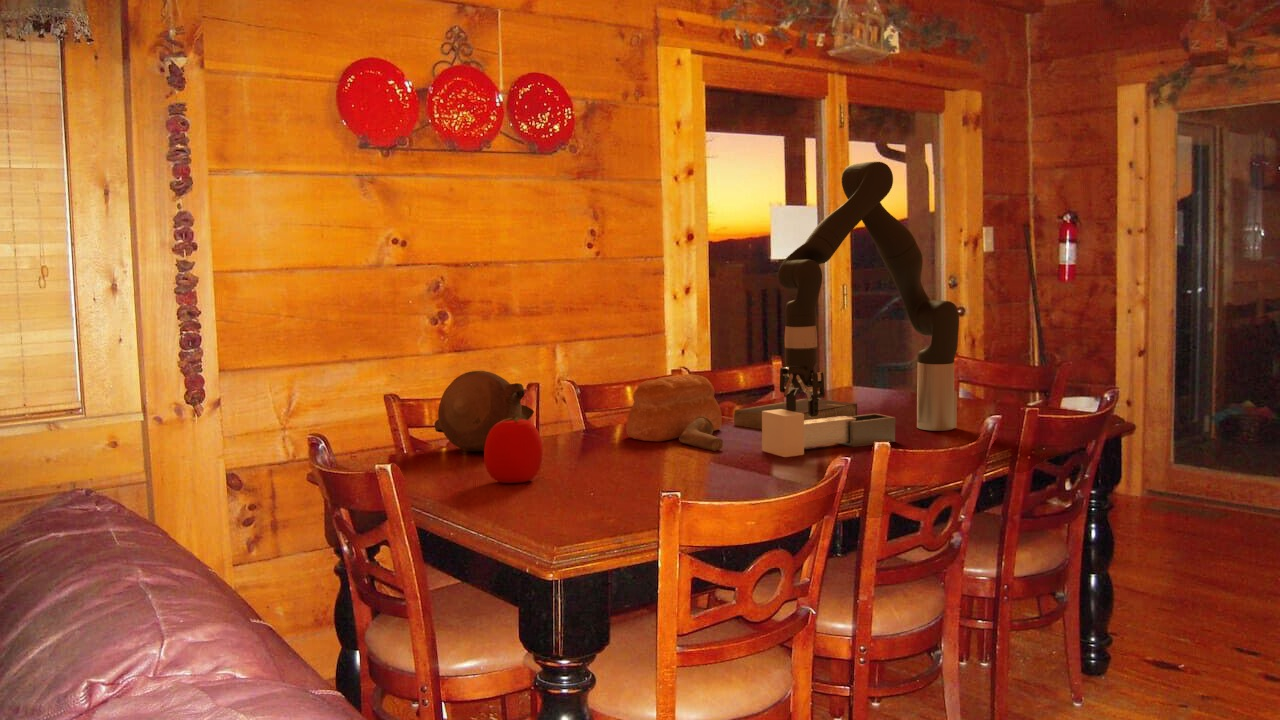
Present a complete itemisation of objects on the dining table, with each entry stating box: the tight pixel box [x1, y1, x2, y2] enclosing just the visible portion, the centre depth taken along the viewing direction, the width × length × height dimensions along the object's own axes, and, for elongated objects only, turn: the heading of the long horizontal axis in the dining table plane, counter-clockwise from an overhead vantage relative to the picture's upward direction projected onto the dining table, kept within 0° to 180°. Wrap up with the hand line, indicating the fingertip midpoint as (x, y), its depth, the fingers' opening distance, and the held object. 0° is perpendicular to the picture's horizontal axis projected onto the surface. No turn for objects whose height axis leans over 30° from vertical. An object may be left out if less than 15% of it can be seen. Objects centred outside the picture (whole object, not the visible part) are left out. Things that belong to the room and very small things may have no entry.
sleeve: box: [837, 413, 896, 448], centre depth 260 cm, size 13×7×6 cm, turn 118°
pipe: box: [678, 416, 724, 452], centre depth 261 cm, size 6×17×10 cm
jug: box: [433, 370, 534, 453], centre depth 262 cm, size 20×20×30 cm
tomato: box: [483, 415, 544, 484], centre depth 223 cm, size 13×11×14 cm
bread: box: [625, 373, 723, 442], centre depth 276 cm, size 14×26×15 cm, turn 134°
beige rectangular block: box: [804, 416, 856, 449], centre depth 253 cm, size 20×5×6 cm, turn 118°
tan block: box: [761, 409, 805, 458], centre depth 249 cm, size 6×9×10 cm, turn 28°
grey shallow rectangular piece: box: [733, 397, 858, 430], centre depth 291 cm, size 29×19×5 cm, turn 131°
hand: (802, 413), depth 251 cm, fingers open, 8 cm apart
